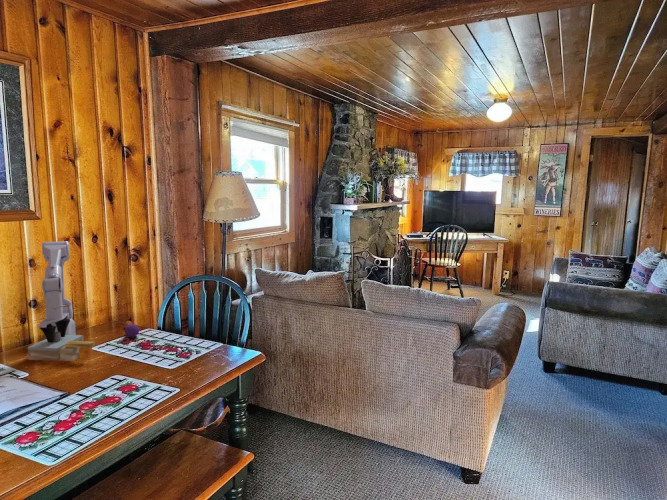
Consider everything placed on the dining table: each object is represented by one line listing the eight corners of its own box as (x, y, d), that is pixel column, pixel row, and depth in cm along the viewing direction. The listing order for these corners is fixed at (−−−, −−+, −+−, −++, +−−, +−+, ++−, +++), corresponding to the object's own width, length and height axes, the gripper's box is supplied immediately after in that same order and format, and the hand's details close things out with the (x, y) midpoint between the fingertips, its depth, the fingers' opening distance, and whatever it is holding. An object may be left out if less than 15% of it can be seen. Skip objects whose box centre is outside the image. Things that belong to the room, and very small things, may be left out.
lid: (56, 338, 184) (55, 326, 183) (83, 339, 183) (82, 327, 183) (28, 352, 168) (26, 338, 168) (57, 353, 168) (56, 339, 167)
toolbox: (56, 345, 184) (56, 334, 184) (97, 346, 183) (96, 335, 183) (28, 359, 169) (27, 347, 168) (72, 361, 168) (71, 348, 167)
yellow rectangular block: (70, 344, 171) (70, 340, 170) (94, 345, 170) (94, 341, 170) (65, 347, 168) (65, 343, 167) (90, 348, 167) (89, 344, 167)
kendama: (135, 318, 213) (140, 325, 196) (134, 330, 213) (138, 338, 196) (122, 317, 210) (126, 325, 193) (120, 329, 210) (124, 338, 193)
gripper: (56, 302, 181) (58, 333, 183) (31, 311, 167) (33, 345, 169) (73, 302, 181) (75, 334, 183) (48, 312, 167) (51, 345, 168)
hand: (56, 339), depth 176 cm, fingers open, 6 cm apart
